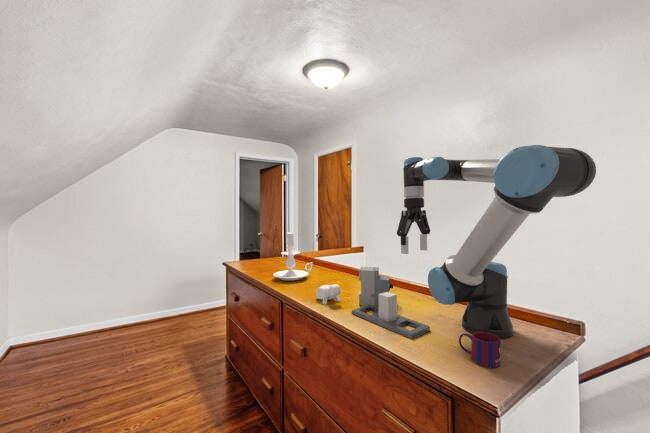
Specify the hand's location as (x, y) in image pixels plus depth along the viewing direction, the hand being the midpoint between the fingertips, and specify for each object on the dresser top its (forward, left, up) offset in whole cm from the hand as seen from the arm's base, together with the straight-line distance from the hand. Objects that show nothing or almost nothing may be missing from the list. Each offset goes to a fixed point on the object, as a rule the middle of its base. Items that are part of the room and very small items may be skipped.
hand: (414, 252), depth 115 cm
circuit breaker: (+17, +3, -24) cm, 30 cm away
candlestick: (+78, +8, -24) cm, 82 cm away
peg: (0, +15, -24) cm, 28 cm away
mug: (-33, +16, -24) cm, 44 cm away
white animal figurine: (+32, +18, -24) cm, 44 cm away
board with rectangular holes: (0, +15, -24) cm, 28 cm away
